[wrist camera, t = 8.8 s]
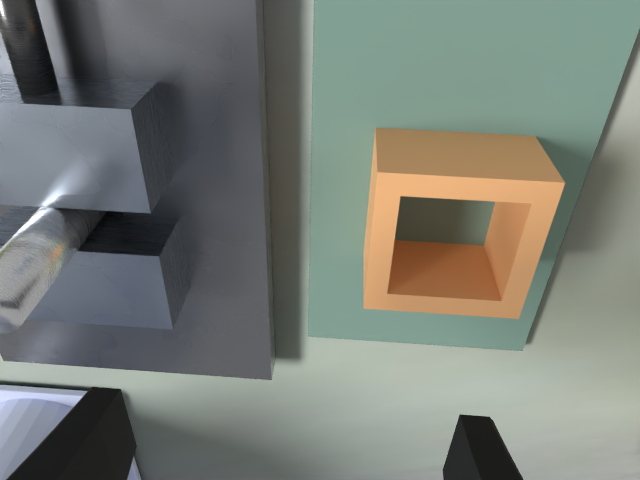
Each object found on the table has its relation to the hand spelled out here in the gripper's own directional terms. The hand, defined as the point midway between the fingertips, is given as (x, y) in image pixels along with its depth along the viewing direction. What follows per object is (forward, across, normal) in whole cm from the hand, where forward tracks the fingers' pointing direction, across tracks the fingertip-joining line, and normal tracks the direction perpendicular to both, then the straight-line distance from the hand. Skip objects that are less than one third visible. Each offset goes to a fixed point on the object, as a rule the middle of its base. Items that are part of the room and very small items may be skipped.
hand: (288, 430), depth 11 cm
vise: (+9, +8, -1) cm, 12 cm away
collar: (+9, -4, -1) cm, 10 cm away
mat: (+9, -4, -1) cm, 10 cm away
